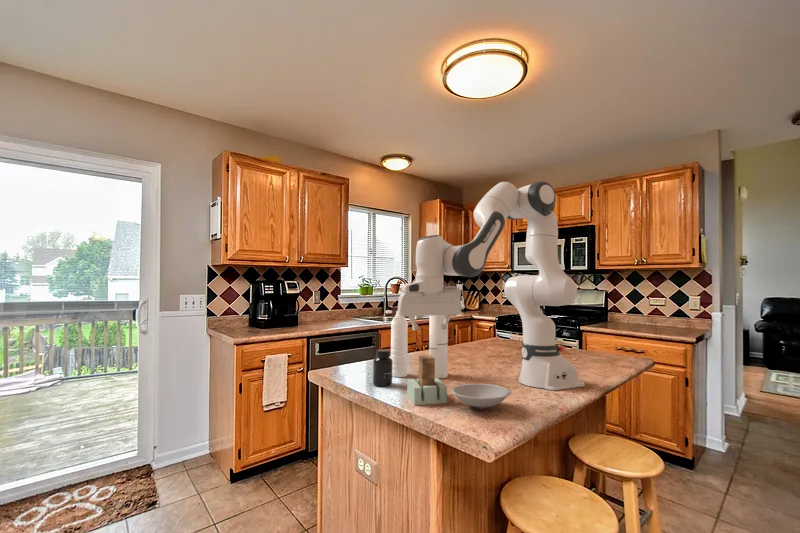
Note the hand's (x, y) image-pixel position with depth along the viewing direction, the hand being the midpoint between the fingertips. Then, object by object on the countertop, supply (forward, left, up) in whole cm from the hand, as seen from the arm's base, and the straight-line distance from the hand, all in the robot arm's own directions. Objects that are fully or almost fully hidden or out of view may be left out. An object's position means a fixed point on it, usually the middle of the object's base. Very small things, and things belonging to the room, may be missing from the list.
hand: (429, 329), depth 119 cm
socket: (+1, +1, -21) cm, 21 cm away
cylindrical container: (-11, -25, -22) cm, 35 cm away
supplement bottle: (+12, -17, -22) cm, 30 cm away
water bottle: (+5, -28, -22) cm, 36 cm away
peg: (+1, +1, -20) cm, 20 cm away
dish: (-12, +11, -22) cm, 27 cm away
